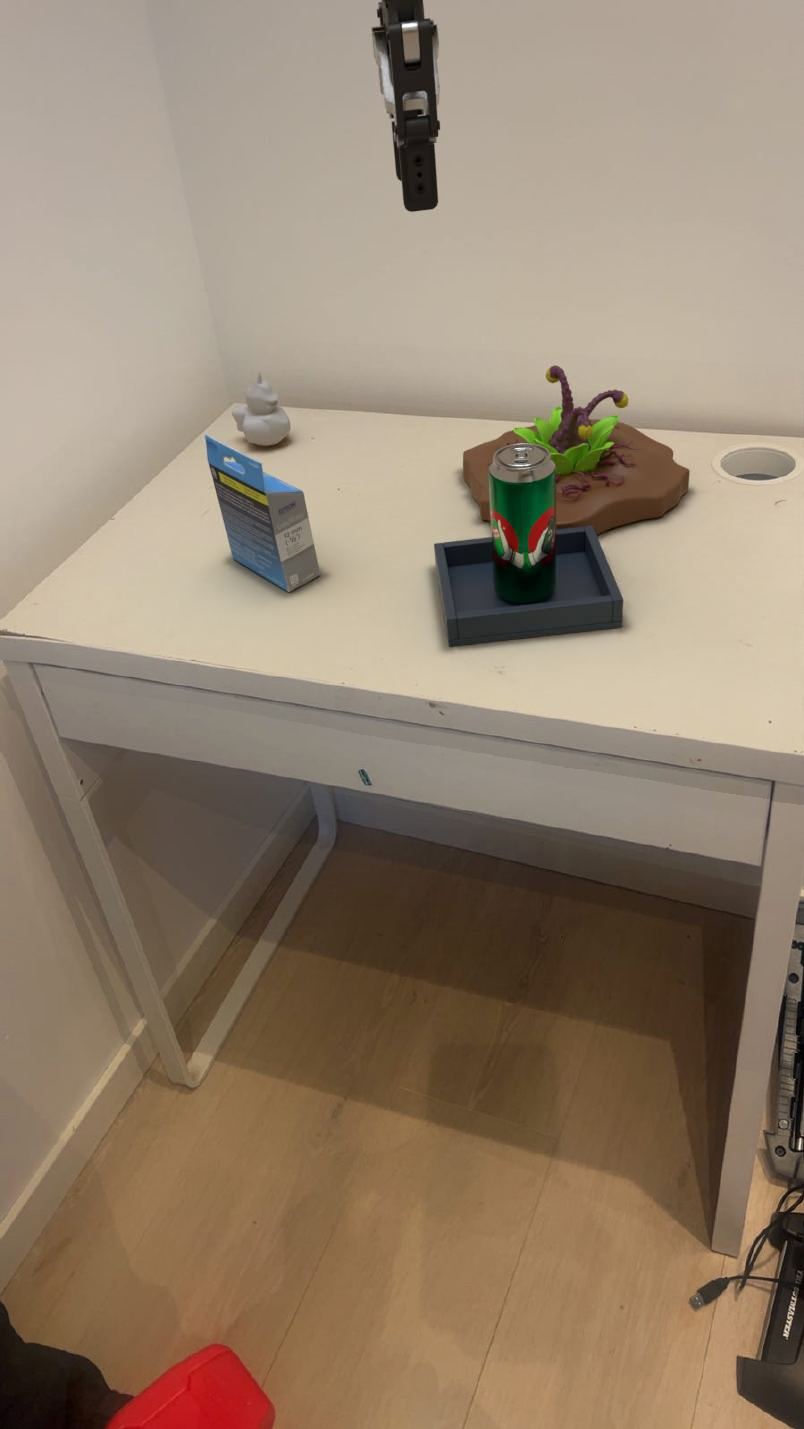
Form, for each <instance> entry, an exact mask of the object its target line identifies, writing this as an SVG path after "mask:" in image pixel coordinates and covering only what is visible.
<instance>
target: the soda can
mask: <svg viewBox="0 0 804 1429" xmlns="http://www.w3.org/2000/svg"><path fill="white" fill-rule="evenodd" d="M488 472H489V494H490V516H491V521H490V531H491V532H490V537H491V538H492V560H493V582H494V590H495V592H496V593H497V594H498V595H499V596H500V597H501V598H502V599H504V600H505V601H507V602H510V603H513V604H519V605H529V604H534V603H538V602H540V601H542V600H544V599H546V598H547V597H548V596H549V595H550V594H551V593H552V592H553V591H554V589H555V587H556V465H555V463H554V462H553V460H552V459H551V453H550V451H549V450H548V449H547V448H545V447H543V446H541V445H538V444H532V443H518V444H512V445H508V446H505V447H502V448H500V449H499V450H497V451H496V452H495V453H494V455H493V462H492V464H491V465H490V467H489V470H488Z"/></svg>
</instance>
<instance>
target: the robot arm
mask: <svg viewBox="0 0 804 1429" xmlns="http://www.w3.org/2000/svg"><path fill="white" fill-rule="evenodd" d="M377 4H378V8H376V17H377V19H379V25H377V26H371V41H372V42H371V43H372V49H373V57H374V59H375V64H376V65H377V70H378V80H379V81H378V82H379V89H380V93H381V95H383V102H384V108H385V111H386V114H388V116H389V117H388V118H389V120H392V121H391V133H392V134H391V135H392V143H393V144H392V145H393V155H394V167H395V174H396V178H397V180H398V181H400V182H401V192H402V202H403V206H404V209H405V210H406V211H408V212H410V213H411V212H412V213H413V212H423V211H432V210H434V209H435V208H436V207H437V206H438V204H439V193H438V191H439V190H438V176H437V164H436V163H437V162H436V148H435V147H436V146H435V144H436V143H437V138H438V137H439V131H440V130H441V122H440V119H438V106H439V103H440V96H441V95H440V94H441V93H440V92H441V87H440V79H439V70H438V59H439V53H440V52H439V50H440V39H439V31H438V24H436V23H435V22H434V19H431V17H429V18H426V17H425V8H424V6H425V5H424V0H381V1H379V2H378V3H377Z"/></svg>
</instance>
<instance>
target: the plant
mask: <svg viewBox="0 0 804 1429" xmlns="http://www.w3.org/2000/svg"><path fill="white" fill-rule="evenodd" d="M545 378H546V381H547V382H548V383H550V384H555V383H558V382H559V383H560V389H561V390H560V391H561V392H560V393H561V398H562V399H561V402H562V403H561V406H556V407H555V408H554V409H553V410H551V413H550V417H549V421H547V420H545V419H544V418H541V417H538V416H537V417H534V419H533V423H534V425H530V426H526V427H512V430H509V431H506V432H503V433H502V435H500V436H498V437H497V438H494V439H492V440H490V441H485V442H483V443H480V444H478V445H476V446H474V447H471V448H469V449H466V450H464V451H463V453H462V474H463V480H464V482H465V483H466V484H467V485H468V486H469V487H470V493H471V496H472V498H473V499H474V501H475V502H476V503H477V504H478V505H479V516H480V519H481V520H483V521H488V522H491V516H490V494H489V472H488V470H489V467H490V465H491V464H492V462H493V455H494V453H495V452H496V451H497V450H499V449H500V448H502V447H505V446H508V445H512V444H518V443H532V444H538V445H541V446H543V447H545V448H547V449H548V450H549V451H550V453H551V459H552V460H553V462H554V463H555V465H556V530H558V529H566V528H575V527H584V526H593V528H594V530H595V533H596V535H597V536H598V535H599V534H601V533H603V532H605V531H607V530H611V529H614V528H617V527H620V526H624V525H628V524H631V523H635V522H638V521H643V520H648V519H657V518H660V517H662V516H664V515H665V513H666V512H668V511H669V510H671V509H673V508H675V506H677V505H678V504H679V502H680V500H681V498H682V496H684V495H685V494H686V493H687V492H688V491H689V484H690V469H689V468H687V467H685V466H683V465H681V464H679V463H677V462H676V461H675V459H674V450H673V449H672V448H671V447H670V446H668V445H667V444H664V443H662V442H659V441H657V440H655V439H654V438H651V437H649V436H648V435H646V434H645V433H643V432H642V431H640V430H638V429H637V428H635V427H633V426H631V425H629V424H627V423H624V422H621V421H620V416H619V414H614V415H610V416H606V417H603V418H601V419H597V418H596V419H595V418H590V415H591V414H592V413H593V411H594V410H595V409H596V407H597V406H598V405H599V404H600V403H601V402H602V401H604V400H606V399H609V398H611V399H612V402H613V403H614V406H615V407H616V408H618V409H624V408H626V407H627V408H628V405H629V397H628V395H627V394H626V392H624V391H623V390H618V389H613V390H610V389H609V390H607V391H603V392H600V393H598V394H597V396H595V397H593V398H592V400H591V401H589V402H588V403H587V406H586V407H581V406H577V407H574V406H575V404H574V403H573V402H574V397H573V396H572V394H573V392H572V390H571V388H570V384H569V382H568V377H567V375H566V374H565V371H564V369H563V368H562V367H560V366H559V365H555V364H554V365H552V366H550V367H549V368H548V369H547V370H546V373H545Z"/></svg>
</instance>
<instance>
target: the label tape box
mask: <svg viewBox="0 0 804 1429" xmlns="http://www.w3.org/2000/svg"><path fill="white" fill-rule="evenodd" d="M204 440H205V444H206V445H205V447H206V459H207V463H208V468H209V470H210V474H211V477H212V482H213V486H214V490H215V493H216V498H217V501H218V505H219V509H220V513H221V517H222V521H223V525H224V529H225V532H226V535H227V536H226V537H227V540H228V545H229V548H230V549H229V550H230V553H231V556H232V557H231V558H232V560H235V561H236V562H238V563H239V564H241V565H243V566H244V567H246V568H248V569H250V570H251V571H253V572H255V573H256V574H258V575H260V576H261V577H263V578H265V579H266V580H268V581H270V582H271V583H273V584H274V585H277V586H278V587H280V588H281V589H283V590H284V591H286V592H288V593H290V592H292V591H293V590H295V589H297V588H300V587H301V586H304V585H305V584H307V583H309V582H310V581H312V580H314V579H315V578H317V577H318V576H320V575H321V570H320V566H319V562H318V557H317V556H318V555H317V551H316V547H315V543H314V537H313V533H312V528H311V522H310V518H309V513H308V508H307V503H306V498H305V493H304V491H303V490H302V489H301V488H298V487H295V486H294V485H291V484H289V483H288V482H285V481H283V480H281V479H279V478H277V477H276V476H273V475H270V474H268V473H266V472H264V469H263V463H262V462H261V461H259V460H257V459H254V458H252V457H250V456H248V455H245V453H242V452H240V451H239V450H236V449H235V448H233V447H231V446H229V445H227V444H225V443H223V442H221V441H219V440H218V439H216V438H214V437H212V436H210V435H209V434H207V433H206V432H205V433H204ZM225 458H226V459H228V460H230V461H225ZM232 459H233V460H234V461H231V460H232Z"/></svg>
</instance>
